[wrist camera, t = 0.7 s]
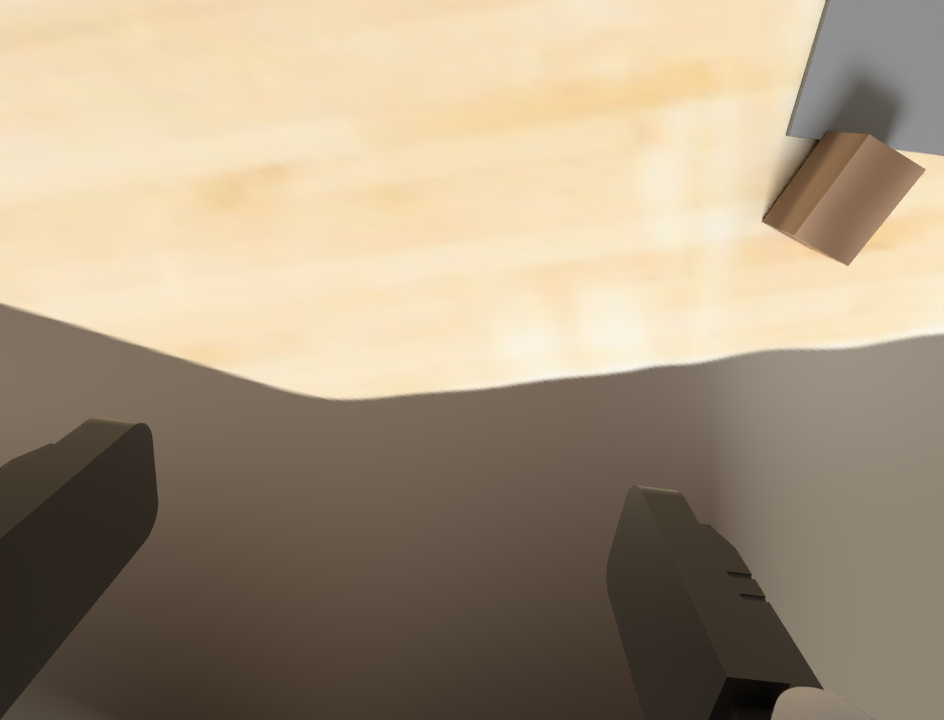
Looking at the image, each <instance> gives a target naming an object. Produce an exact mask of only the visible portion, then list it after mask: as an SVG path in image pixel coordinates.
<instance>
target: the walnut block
mask: <svg viewBox="0 0 944 720" xmlns="http://www.w3.org/2000/svg"><path fill="white" fill-rule="evenodd" d="M925 170H926V169H924V168H923V167H921V166H919V165H918V164H916V163H914V162H913V161H911V160H910V159H908V158H906V157H905V156H903V155H902V154H900V153H898V152H897V151H895V150H894V149H892V148H890V147H889V146H887V145H886V144H884V143H882V142H881V141H879V140H877V139H876V138H874V137H873V136H871V135H869V134H859V133H847V132H835V131H826V133H825V134H824V135H823V137H822V138H821V140H820V141H819V142H818V144H817V145H816V147H815V148H814V150H813V151H812V152H811V154H810V155H809V157H808V158H807V159H806V161H805V162H804V164H803V165H802V166H801V168H800V169H799V171H798V172H797V173H796V175H795V176H794V178H793V179H792V180H791V182H790V183H789V185H788V186H787V187H786V189H785V190H784V192H783V193H782V194H781V196H780V197H779V199H778V200H777V201H776V203H775V204H774V206H773V207H772V208H771V210H770V211H769V213H768V214H767V215H766V217H765V218H764V220H763V221H762V222H763V223H765V224H767V225H769V226H771V227H772V228H774V229H776V230H778V231H780V232H781V233H783V234H785V235H787V236H788V237H790V238H792V239H794V240H796V241H797V242H799V243H801V244H803V245H804V246H806V247H808V248H810V249H812V250H814V251H816V252H818V253H821V254H823V255H825V256H827V257H829V258H832V259H834V260H836V261H838V262H841V263H843V264H845V265H847V266H849V264H850V263H851V262H852V261H853V259H854V258H855V257H856V256H857V254H858V253H859V252H860V251H861V249H862V248H863V247H864V246H865V244H866V243H867V242H868V241H869V240H870V238H871V237H872V236H873V235H874V233H875V232H876V231H877V230H878V228H879V227H880V226H881V225H882V223H883V222H884V221H885V220H886V218H887V217H888V216H889V215H890V213H891V212H892V211H893V210H894V209H895V207H896V206H897V205H898V204H899V202H900V201H901V200H902V199H903V197H904V196H905V195H906V194H907V192H908V191H909V190H910V189H911V187H912V186H913V185H914V184H915V182H916V181H917V180H918V179H919V177H920V176H921V175H922V174H923V173H924V171H925Z"/></svg>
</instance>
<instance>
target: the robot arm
mask: <svg viewBox="0 0 944 720" xmlns="http://www.w3.org/2000/svg"><path fill="white" fill-rule="evenodd" d="M157 510H158V495H157V484H156V472H155V461H154V450H153V439H152V434H151V430H150V428H149V427H148V426H147V425H146V424H145V423H139V422H131V421H122V420H115V419H107V418H98V417H95V418H91V419H89V420H87V421H86V422H84V423H83V424H81V425H80V426H79V427H77V428H76V429H75V430H73V431H72V432H71V433H69V434H68V435H66V436H65V437H64V438H62V439H61V440H60V441H58V442H57V443H56V444H49V445H46V446H44V447H41V448H39V449H36V450H34V451H32V452H29V453H27V454H24V455H22V456H20V457H17V458H15V459H12V460H11V461H9V462H8V463H6V464H5V465H3V466H2V467H1V468H0V719H1V718H2V717H3V715H4V714H5V713H6V712H7V711H8V709H9V708H10V707H11V706H12V704H13V703H14V702H15V701H16V699H17V698H18V697H19V696H20V694H21V693H22V692H23V691H24V690H25V688H26V687H27V686H28V685H29V684H30V682H31V681H32V679H34V677H35V676H36V675H37V673H39V671H40V670H41V669H42V668H43V666H44V665H45V664H46V663H47V661H48V660H49V659H50V658H51V657H52V655H53V654H54V653H55V651H56V650H57V649H58V648H59V647H60V645H61V644H62V643H63V642H64V641H65V639H66V638H67V637H68V636H69V634H70V633H71V632H72V631H73V629H74V628H75V627H76V626H77V625H78V623H79V622H80V621H81V620H82V618H83V617H84V616H85V615H86V613H87V612H88V611H89V610H90V608H91V607H92V606H93V605H94V604H95V602H96V601H97V600H98V599H99V597H100V596H101V595H102V594H103V593H104V591H105V590H106V589H107V588H108V587H109V585H110V584H111V583H112V582H113V580H114V579H115V578H116V577H117V575H118V574H119V573H120V572H121V571H122V569H123V568H124V567H125V566H126V564H127V563H128V562H129V561H130V560H131V558H132V557H133V556H134V554H135V553H136V552H137V551H138V550H139V548H140V547H141V546H142V545H143V543H144V542H145V541H146V540H147V538H148V536H149V535H150V533H151V530H152V528H153V526H154V523H155V520H156V515H157ZM606 575H607V576H606V580H607V591H608V596H609V600H610V603H611V606H612V610H613V614H614V617H615V621H616V624H617V628H618V631H619V634H620V638H621V641H622V645H623V648H624V652H625V656H626V659H627V663H628V666H629V669H630V673H631V676H632V680H633V684H634V687H635V690H636V694H637V697H638V700H639V704H640V708H641V712H642V715H643V718H644V720H876V719H875V718H873V717H872V716H871V715H870V714H868V713H867V712H865V711H864V710H863V709H861V708H860V707H858V706H856V705H855V704H853V703H852V702H850V701H848V700H846V699H844V698H842V697H840V696H838V695H835V694H833V693H831V692H828V691H825V690H824V689H823V687H822V686H821V684H820V683H819V681H818V680H817V678H816V676H815V675H814V673H813V671H812V670H811V668H810V667H809V665H808V663H807V662H806V660H805V659H804V657H803V656H802V654H801V652H800V651H799V649H798V647H797V646H796V644H795V643H794V641H793V640H792V638H791V636H790V635H789V633H788V632H787V630H786V628H785V627H784V625H783V624H782V622H781V620H780V619H779V617H778V616H777V614H776V612H775V611H774V609H773V608H772V606H771V604H770V603H769V602H766V601H765V595H764V593H763V592H762V590H761V588H760V587H759V586H758V584H757V582H756V580H755V579H752V578H751V575H752V574H751V572H750V571H749V569H748V568H747V566H746V564H745V563H744V561H743V560H742V558H741V556H740V555H739V553H738V552H737V550H736V548H735V547H733V546H732V545H731V544H730V543H729V542H728V541H727V540H726V539H725V538H723V537H722V536H721V535H720V534H719V533H718V532H717V531H716V530H715V529H713V528H712V527H711V526H710V525H706V524H699V522H698V521H697V519H696V517H695V515H694V514H693V512H692V510H691V508H690V507H689V505H688V503H687V502H686V500H685V498H684V496H683V495H682V493H681V492H679V491H677V490H669V489H660V488H652V487H645V486H637V485H634V486H632V487H631V488H630V490H629V491H628V493H627V496H626V499H625V502H624V506H623V509H622V513H621V516H620V519H619V523H618V526H617V529H616V533H615V536H614V540H613V543H612V546H611V550H610V553H609V557H608V563H607V573H606Z"/></svg>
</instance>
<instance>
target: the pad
mask: <svg viewBox="0 0 944 720" xmlns="http://www.w3.org/2000/svg"><path fill="white" fill-rule="evenodd" d="M826 131H835V132H847V133H859V134H869V135H871V136H873V137H874V138H876V139H877V140H879V141H881V142H882V143H884V144H886V145H887V146H889V147H890V148H892V149H894V150H902V151H910V152H918V153H926V154H933V155H941V156H944V0H826V3H825V7H824V10H823V13H822V17H821V20H820V23H819V27H818V30H817V33H816V37H815V40H814V43H813V47H812V50H811V53H810V57H809V60H808V63H807V66H806V70H805V73H804V76H803V80H802V83H801V86H800V90H799V93H798V96H797V100H796V103H795V106H794V110H793V113H792V116H791V120H790V123H789V126H788V130H787V133H786V136H793V137H800V138H808V139H816V140H821V138H822V137H823V135H824V134H825V133H826Z"/></svg>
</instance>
